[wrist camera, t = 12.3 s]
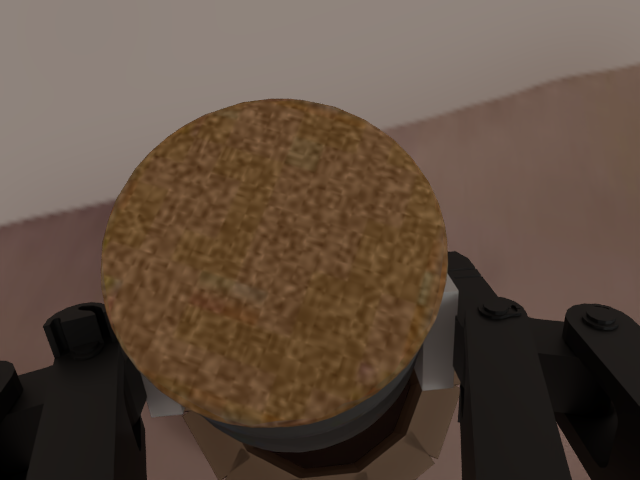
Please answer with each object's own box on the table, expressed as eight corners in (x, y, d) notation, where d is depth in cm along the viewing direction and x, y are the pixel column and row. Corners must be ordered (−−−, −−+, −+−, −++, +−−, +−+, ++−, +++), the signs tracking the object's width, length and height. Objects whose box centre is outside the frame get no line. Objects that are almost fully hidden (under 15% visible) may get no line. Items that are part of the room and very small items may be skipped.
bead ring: (416, 250, 27) (431, 222, 23) (458, 488, 22) (484, 502, 19) (203, 269, 26) (182, 245, 23) (204, 514, 22) (179, 533, 18)
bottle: (403, 350, 21) (572, 201, 7) (320, 469, 19) (311, 609, 5) (297, 271, 22) (248, 6, 8) (212, 376, 20) (-42, 278, 6)
